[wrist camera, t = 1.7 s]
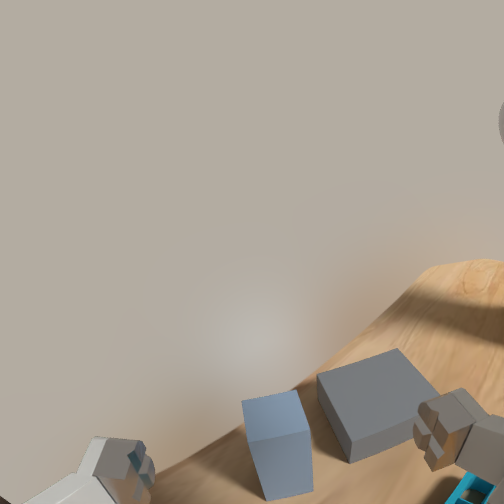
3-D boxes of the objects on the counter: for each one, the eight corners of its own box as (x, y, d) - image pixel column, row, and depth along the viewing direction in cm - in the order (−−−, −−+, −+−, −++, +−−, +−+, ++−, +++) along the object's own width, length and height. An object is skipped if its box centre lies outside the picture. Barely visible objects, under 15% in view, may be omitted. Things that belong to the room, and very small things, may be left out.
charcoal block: (393, 374, 41) (397, 348, 40) (436, 427, 30) (445, 401, 28) (317, 400, 40) (316, 374, 38) (349, 465, 29) (352, 441, 27)
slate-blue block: (303, 457, 31) (296, 389, 27) (313, 491, 26) (310, 429, 22) (260, 467, 31) (241, 400, 27) (266, 501, 26) (247, 442, 22)
